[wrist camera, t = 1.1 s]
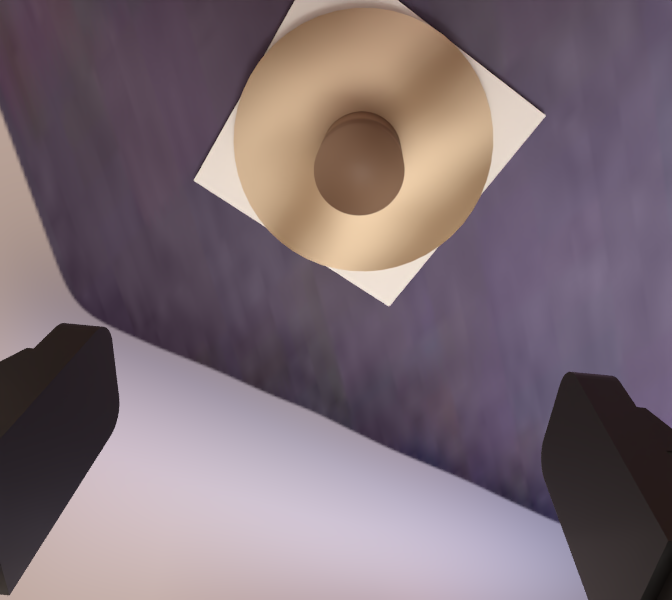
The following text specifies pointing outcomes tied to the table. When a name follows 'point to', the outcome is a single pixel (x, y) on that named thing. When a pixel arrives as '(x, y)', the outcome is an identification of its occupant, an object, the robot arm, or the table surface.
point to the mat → (508, 135)
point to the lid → (363, 139)
